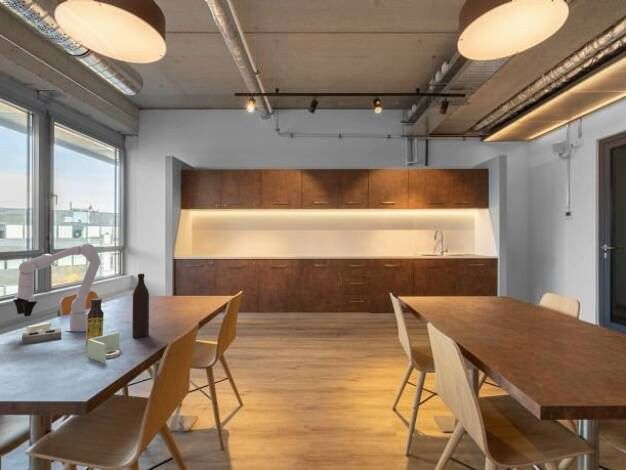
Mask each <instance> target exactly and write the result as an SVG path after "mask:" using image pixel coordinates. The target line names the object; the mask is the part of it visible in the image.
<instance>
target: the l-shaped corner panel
mask: <svg viewBox="0 0 626 470" xmlns="http://www.w3.org/2000/svg"><path fill="white" fill-rule="evenodd" d="M86 346H87V347H86V348H87V349H86V351H87V355H86V356H87V358H89V359H92V360H94V359H95V360H94V361H97V362H99V361H100V363H102V364H104V363H106V360H107V359H114V358H118V357H119V355H120V353H121V351H120V332H118V331H117V332H113V333H109V334H105V335H103V336H100V337H95V338H91V339H87V344H86Z"/></svg>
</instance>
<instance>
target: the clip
mask: <svg viewBox="0 0 626 470" xmlns="http://www.w3.org/2000/svg"><path fill="white" fill-rule="evenodd" d="M51 328H52V322H48V321H47V322H41V323H38V324H34V325H27V326H26V331H27V333H29V332H37V331H44V330H51Z"/></svg>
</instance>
